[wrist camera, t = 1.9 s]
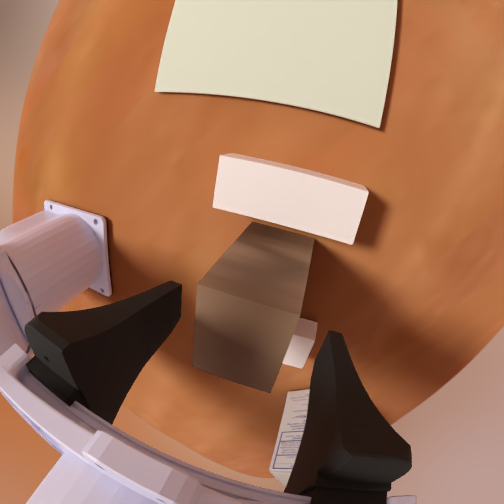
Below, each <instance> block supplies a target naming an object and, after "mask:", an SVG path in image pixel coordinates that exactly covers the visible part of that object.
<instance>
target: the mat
mask: <svg viewBox="0 0 504 504" xmlns="http://www.w3.org/2000/svg"><path fill="white" fill-rule="evenodd" d="M396 15H397V0H176V1H175V5H174V8H173V12H172V15H171V19H170V22H169V26H168V30H167V34H166V38H165V42H164V47H163V51H162V56H161V60H160V65H159V70H158V75H157V81H156V86H155V92H176V93H198V94H212V95H223V96H232V97H241V98H249V99H256V100H263V101H269V102H275V103H280V104H286V105H291V106H296V107H301V108H306V109H310V110H315V111H319V112H323V113H327V114H331V115H335V116H339V117H343V118H346V119H350V120H353V121H357V122H360V123H363V124H366V125H370V126H373V127H376V128H380V123H381V119H382V114H383V109H384V103H385V98H386V92H387V87H388V81H389V74H390V68H391V61H392V53H393V45H394V37H395V27H396Z"/></svg>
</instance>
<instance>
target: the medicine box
mask: <svg viewBox="0 0 504 504" xmlns="http://www.w3.org/2000/svg"><path fill="white" fill-rule="evenodd" d="M309 392H310V389H305V390H299V391H289V392H288V394H287V398H286V403H285V408H284V412H283V416H282V420H281V424H280V429H279V433H278V437H277V441H276V445H275V449H274V452H273V456H272V460H271V464H270V468H269V471H270V472H271V474H272V475H273V476H274V477H275V478H276V479H277V480H278V481H280V482H281V484H282V485H283V486H284V487H285V488H286V485H287V482H288V480H289V477H290V474H291V471H292V469H293V466H294V463H295V460H296V456H297V453H298V450H299V446H300V443H301V439H302V436H303V432H304V428H305V423H306V418H307V410H308V401H309Z"/></svg>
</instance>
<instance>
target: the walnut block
mask: <svg viewBox="0 0 504 504" xmlns="http://www.w3.org/2000/svg"><path fill="white" fill-rule="evenodd" d="M314 239H315V238H311V237H308V236H304V235H300V234H297V233H293V232H289V231H286V230H282V229H278V228H275V227H271V226H267V225H264V224H260V223H256V222H252V223H251V224H250V225H249V226H248V227H247V228H246V229H245V231H244V232H243V233H242V234H241V235H240V236H239V237H238V238H237V239H236V241H235V242H234V243H233V244H232V245H231V246H230V247H229V248H228V250H227V251H226V252H225V253H224V254H223V255H222V256H221V257H220V259H219V260H218V261H217V262H216V263H215V264H214V265H213V266H212V268H211V269H210V270H209V271H208V272H207V273H206V274H205V276H204V277H203V278H202V279H201V280H200V281H199V282H198V284H197V294H196V307H195V322H194V338H193V356H192V367H195V368H197V369H200V370H202V371H205V372H208V373H210V374H213V375H216V376H219V377H221V378H224V379H227V380H230V381H233V382H236V383H239V384H242V385H245V386H248V387H251V388H255V389H258V390H261V391H265V392H268V393H270V392H271V390H272V387H273V385H274V383H275V380H276V378H277V375H278V373H279V370H280V368H281V365H282V363H283V360H284V357H285V355H286V352H287V350H288V347H289V344H290V342H291V339H292V336H293V334H294V331H295V328H296V326H297V323H298V320H299V317H300V314H301V309H302V304H303V299H304V294H305V289H306V284H307V278H308V273H309V268H310V262H311V256H312V251H313V245H314Z"/></svg>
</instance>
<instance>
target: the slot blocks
mask: <svg viewBox="0 0 504 504" xmlns="http://www.w3.org/2000/svg"><path fill="white" fill-rule="evenodd" d="M368 193H369V192H368V190H367V189H366V187H365V186H364V185H361V184H357V183H354V182H351V181H347V180H344V179H340V178H337V177H333V176H330V175H326V174H323V173H319V172H315V171H311V170H307V169H303V168H299V167H295V166H291V165H287V164H283V163H278V162H274V161H270V160H265V159H260V158H255V157H251V156H246V155H240V154H235V153H230V154H224V155H220V159H219V166H218V172H217V179H216V186H215V193H214V200H213V207H214V208H218V209H222V210H226V211H230V212H234V213H238V214H242V215H245V216H249V217H253V218H257V219H261V220H265V221H268V222H272V223H276V224H280V225H283V226H287V227H291V228H294V229H298V230H302V231H305V232H309V233H312V234H316V235H320V236H323V237H327V238H330V239H334V240H337V241H340V242H344V243H347V244H351V245H353V242H354V239H355V236H356V233H357V229H358V226H359V223H360V220H361V217H362V214H363V210H364V207H365V204H366V200H367V197H368ZM316 331H317V322H314V321H311V320H307V319H304V318H300V317H299V320H298V323H297V326H296V328H295V331H294V334H293V336H292V339H291V342H290V344H289V347H288V350H287V352H286V355H285V357H284V360H283V364H286V365H290V366H294V367H297V368H301V369H302V368H303V366H304V364H305V362H306V360H307V357H308V355H309V353H310V351H311V349H312V346H313V344H314V342H315V338H316Z"/></svg>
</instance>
